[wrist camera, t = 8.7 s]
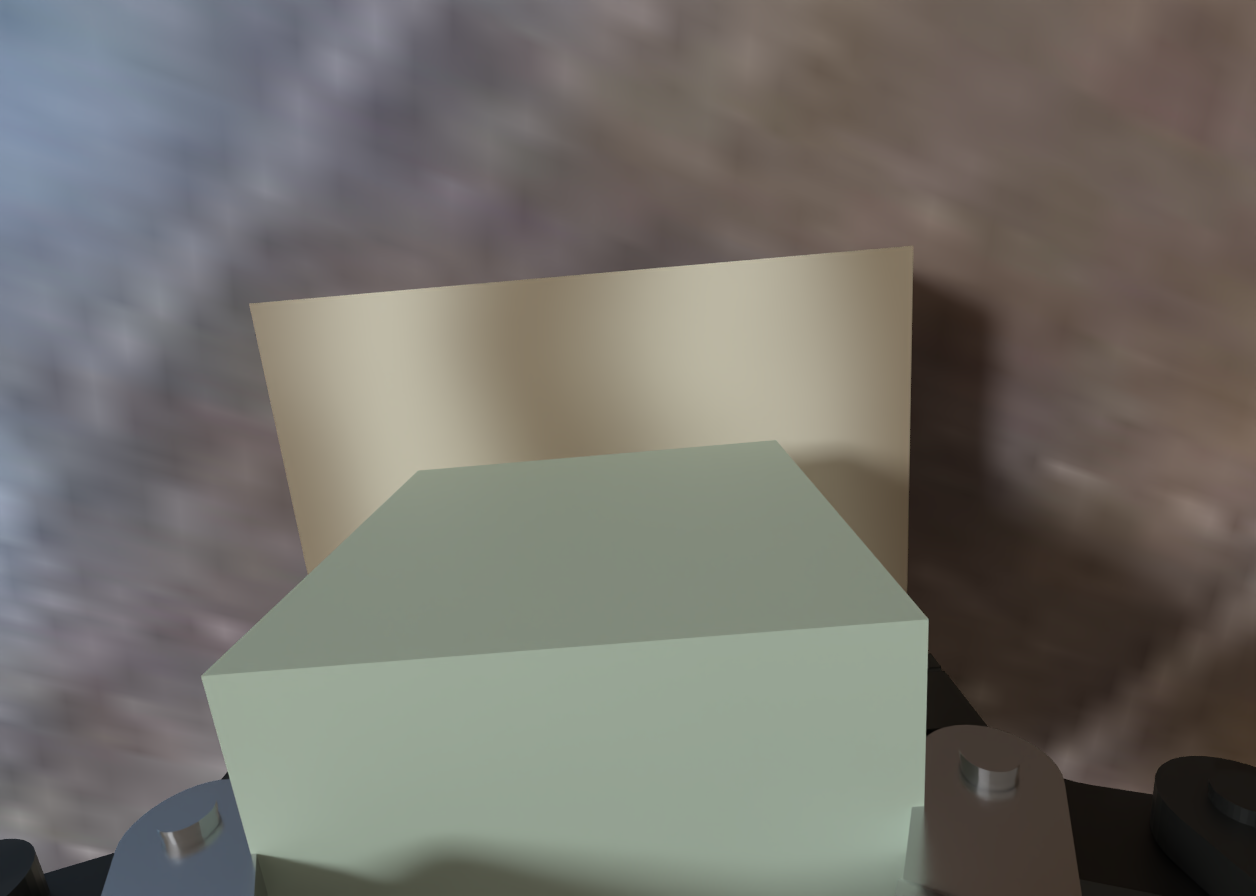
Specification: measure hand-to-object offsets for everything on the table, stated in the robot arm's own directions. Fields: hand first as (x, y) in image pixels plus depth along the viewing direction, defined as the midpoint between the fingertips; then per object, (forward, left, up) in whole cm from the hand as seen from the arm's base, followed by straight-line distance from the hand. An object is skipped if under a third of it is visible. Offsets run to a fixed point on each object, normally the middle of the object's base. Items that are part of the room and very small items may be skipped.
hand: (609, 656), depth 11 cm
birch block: (0, 0, -7) cm, 7 cm away
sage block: (0, 0, -1) cm, 1 cm away
